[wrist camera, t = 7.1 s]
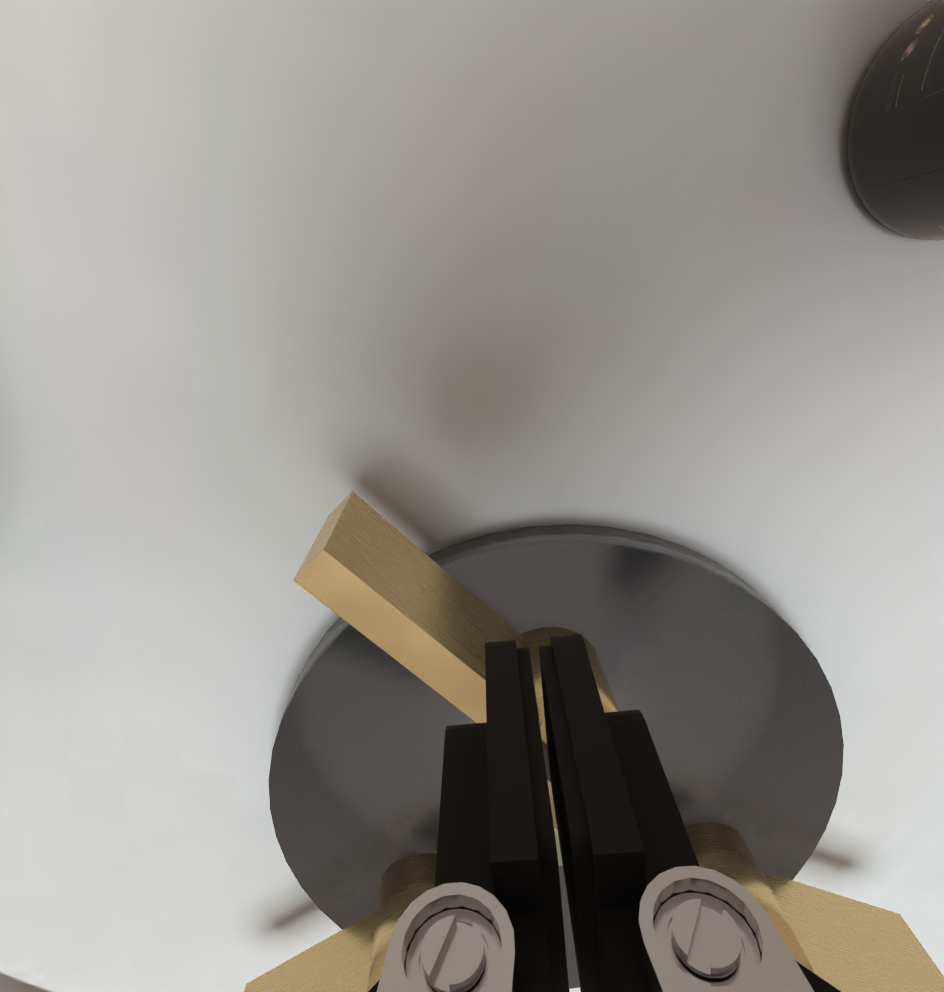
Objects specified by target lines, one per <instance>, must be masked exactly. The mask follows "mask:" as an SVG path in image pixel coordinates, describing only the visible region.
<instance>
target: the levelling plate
mask: <svg viewBox="0 0 944 992" xmlns="http://www.w3.org/2000/svg"><path fill="white" fill-rule="evenodd" d="M429 557H430V558H431V559H432V560H433V561H434V562H436V563H437V564H438V565H439V566H440V567H441V568H443V569H444V570H445V571H446V572H447V573H448V574H450V575H451V576H452V577H453V578H454V579H455V580H457V581H458V582H459V583H460V584H461V585H463V586H464V587H465V588H466V589H467V590H468V591H470V592H471V593H472V594H473V595H474V596H475V597H477V598H478V599H479V600H480V601H481V602H482V603H484V604H485V605H486V606H487V607H488V608H489V609H491V610H492V611H493V612H494V613H495V614H496V615H498V616H499V617H500V618H501V619H502V620H503V621H505V622H506V623H507V624H508V625H509V626H510V627H512V628H513V629H514V630H515V631H516V632H517V633H519V634H522V633H524V632H527V631H529V630H533V629H536V628H541V627H559V628H565V629H568V630H571V631H574V632H576V633H578V634H582V636H583V637H584V638H585V639H587V640H588V641H589V642H590V643H591V645H592V646H593V647H594V649H595V651H596V653H597V655H598V657H599V660H600V662H601V665H602V668H603V670H604V673H605V675H606V678H607V681H608V683H609V686H610V688H611V691H612V694H613V696H614V699H615V701H616V704H617V707H618V709H619V711H628V710H640V711H641V713H642V714H643V717H644V719H645V721H646V724H647V726H648V729H649V732H650V735H651V737H652V740H653V743H654V745H655V748H656V751H657V753H658V756H659V759H660V761H661V764H662V767H663V769H664V772H665V775H666V777H667V780H668V783H669V785H670V788H671V791H672V793H673V796H674V799H675V802H676V804H677V807H678V810H679V812H680V815H681V818H682V820H683V823H684V826H685V827H686V826H689V825H692V824H696V823H703V822H716V823H722V824H726V825H728V826H731V827H733V828H734V829H736V830H737V831H739V832H740V833H741V834H742V835H743V837H744V839H745V840H746V842H747V844H748V846H749V848H750V850H751V852H752V854H753V856H754V858H755V859H756V861H757V863H758V865H759V867H760V869H761V871H764V872H767V873H770V874H773V875H776V876H780V877H783V878H786V879H789V880H793V879H794V877H795V876H796V875H797V873H798V872H799V871H800V869H801V868H802V867H803V865H804V864H805V863H806V861H807V860H808V859H809V857H810V856H811V854H812V853H813V851H814V849H815V847H816V845H817V844H818V842H819V840H820V838H821V837H822V835H823V833H824V831H825V829H826V827H827V824H828V821H829V819H830V816H831V814H832V811H833V809H834V806H835V803H836V799H837V795H838V790H839V786H840V781H841V777H842V765H843V746H844V745H843V737H842V729H841V721H840V715H839V711H838V708H837V705H836V702H835V698H834V695H833V692H832V689H831V686H830V684H829V682H828V680H827V678H826V676H825V674H824V673H823V671H822V669H821V667H820V665H819V663H818V661H817V659H816V658H815V656H814V655H813V654H812V652H811V651H810V650H809V648H808V647H807V646H806V645H805V643H804V642H803V641H802V639H801V638H800V637H799V635H798V634H797V633H796V632H795V631H794V630H793V629H792V628H791V627H790V626H789V625H788V624H787V622H786V621H785V620H784V619H783V618H782V617H781V616H780V615H779V614H778V613H777V612H776V611H775V610H774V609H773V608H772V607H771V606H770V605H769V604H768V603H767V602H766V601H765V600H763V599H762V598H761V597H760V596H759V595H758V594H757V593H756V592H755V591H754V590H753V589H752V588H751V587H750V586H749V585H748V584H747V583H745V582H744V581H743V580H741V579H740V578H738V577H737V576H735V575H734V574H732V573H731V572H729V571H728V570H727V569H725V568H724V567H722V566H721V565H719V564H718V563H716V562H714V561H712V560H710V559H708V558H706V557H704V556H702V555H700V554H698V553H696V552H694V551H692V550H690V549H688V548H686V547H683V546H680V545H677V544H674V543H671V542H668V541H665V540H662V539H659V538H656V537H653V536H650V535H646V534H641V533H636V532H630V531H625V530H620V529H615V528H609V527H594V526H579V525H559V526H541V527H527V528H522V529H516V530H510V531H505V532H499V533H493V534H488V535H485V536H482V537H478V538H475V539H472V540H468V541H465V542H462V543H459V544H455V545H452V546H449V547H447V548H445V549H442V550H440V551H438V552H436V553H433V554H431V555H429ZM474 723H476V722H475V721H474V720H472V719H471V718H470V717H469V716H467V715H466V714H465V713H463V712H462V711H461V710H460V709H458V708H457V707H456V706H454V705H453V704H452V703H451V702H449V701H448V700H447V699H445V698H444V697H443V696H442V695H440V694H439V693H438V692H436V691H435V690H434V689H433V688H431V687H430V686H429V685H427V684H426V683H425V682H424V681H422V680H421V679H420V678H418V677H417V676H416V675H415V674H413V673H412V672H411V671H409V670H408V669H407V668H406V667H404V666H403V665H402V664H400V663H399V662H398V661H397V660H395V659H394V658H393V657H391V656H390V655H389V654H388V653H386V652H385V651H384V650H382V649H381V648H380V647H379V646H377V645H376V644H375V643H373V642H372V641H371V640H370V639H368V638H367V637H366V636H364V635H363V634H362V633H361V632H359V631H358V630H357V629H355V628H354V627H353V626H352V625H350V624H349V623H348V622H346V621H345V620H344V619H343V618H341V617H340V619H339V620H338V621H337V622H336V623H335V624H334V625H333V626H332V627H331V628H330V629H329V630H328V632H327V633H326V634H325V636H324V637H323V639H322V640H321V641H320V643H319V644H318V646H317V647H316V649H315V650H314V651H313V653H312V654H311V656H310V657H309V659H308V661H307V663H306V665H305V667H304V669H303V671H302V673H301V675H300V677H299V679H298V681H297V683H296V685H295V687H294V690H293V693H292V695H291V698H290V700H289V703H288V705H287V708H286V710H285V713H284V715H283V718H282V721H281V724H280V727H279V730H278V734H277V737H276V740H275V743H274V747H273V751H272V758H271V766H270V774H269V795H270V810H271V815H272V819H273V824H274V828H275V833H276V837H277V839H278V842H279V844H280V847H281V849H282V852H283V854H284V857H285V859H286V862H287V864H288V865H289V867H290V869H291V870H292V872H293V874H294V875H295V877H296V879H297V880H298V882H299V884H300V885H301V887H302V888H303V889H304V890H305V892H306V893H307V894H308V895H309V897H310V898H311V899H312V900H313V901H314V903H315V904H316V905H317V906H318V907H319V909H320V910H321V911H323V912H324V913H325V914H326V915H327V916H328V917H329V918H330V919H331V920H332V921H333V922H334V923H336V924H337V925H338V926H339V927H340V928H341V929H345V928H346V927H348V926H350V925H352V924H353V923H355V922H357V921H359V920H361V919H362V918H364V917H366V916H368V915H369V914H371V913H373V912H375V911H376V910H377V909H378V901H379V892H380V884H381V879H382V876H383V874H384V873H385V871H386V870H387V869H388V867H389V866H390V865H392V864H393V863H394V862H396V861H397V860H399V859H401V858H403V857H406V856H409V855H413V854H419V853H435V854H437V844H438V829H439V814H440V799H441V784H442V769H443V754H444V739H445V729H446V727H447V726H450V725H462V724H474ZM554 831H555V839H556V847H557V856H558V865H559V876H560V887H561V899H562V911H563V923H564V935H565V947H566V959H567V970H568V982H569V988H578V987H580V982H579V975H578V968H577V961H576V954H575V947H574V940H573V934H572V927H571V920H570V913H569V906H568V899H567V892H566V885H565V878H564V871H563V864H562V857H561V851H560V844H559V837H558V830H557V829H556V828H554Z"/></svg>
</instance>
